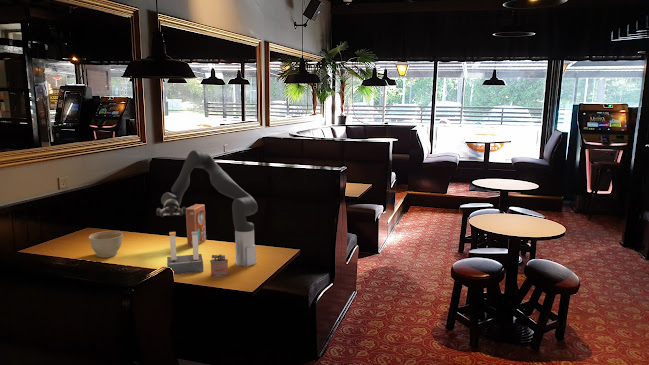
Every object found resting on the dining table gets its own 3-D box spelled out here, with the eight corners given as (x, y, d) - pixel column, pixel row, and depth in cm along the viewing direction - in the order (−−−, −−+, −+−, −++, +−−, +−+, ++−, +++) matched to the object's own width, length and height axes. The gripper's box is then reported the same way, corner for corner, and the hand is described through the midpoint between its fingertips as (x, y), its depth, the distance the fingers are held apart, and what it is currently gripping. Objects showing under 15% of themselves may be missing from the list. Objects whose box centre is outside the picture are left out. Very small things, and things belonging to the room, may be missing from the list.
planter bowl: (93, 262, 241) (92, 241, 239) (87, 254, 254) (86, 234, 252) (127, 256, 250) (126, 235, 249) (119, 248, 263) (118, 229, 261)
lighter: (229, 274, 223) (228, 253, 222) (227, 276, 220) (227, 255, 218) (211, 274, 223) (210, 253, 221) (210, 277, 220) (209, 256, 218)
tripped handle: (170, 258, 229) (169, 232, 227) (176, 258, 230) (175, 231, 228) (170, 260, 226) (169, 233, 224) (177, 259, 227) (175, 233, 225)
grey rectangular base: (167, 266, 233) (167, 256, 233) (201, 263, 238) (201, 253, 237) (167, 275, 222) (167, 264, 221) (203, 271, 227) (202, 261, 226)
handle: (192, 258, 229) (191, 231, 227) (198, 257, 230) (197, 231, 228) (193, 260, 227) (191, 233, 225) (199, 259, 228) (197, 232, 226)
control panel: (208, 240, 280) (196, 247, 265) (197, 239, 281) (184, 246, 267) (206, 203, 276) (194, 209, 262) (195, 203, 278) (183, 208, 263)
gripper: (156, 200, 248) (155, 207, 233) (185, 199, 253) (186, 206, 238) (157, 215, 250) (156, 222, 235) (185, 213, 254) (186, 221, 239)
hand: (171, 214), depth 236 cm, fingers open, 8 cm apart
